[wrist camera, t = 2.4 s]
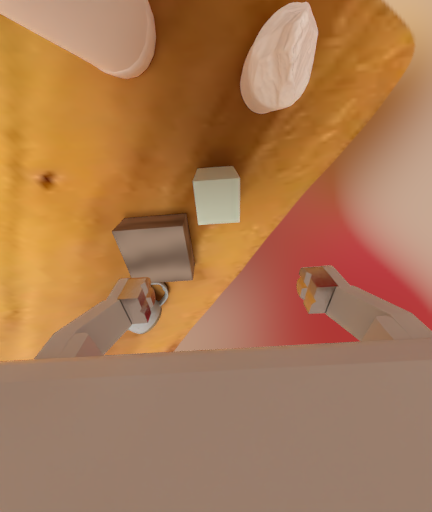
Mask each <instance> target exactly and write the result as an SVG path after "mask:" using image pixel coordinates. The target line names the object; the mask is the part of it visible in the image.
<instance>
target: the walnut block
mask: <svg viewBox="0 0 432 512" xmlns="http://www.w3.org/2000/svg"><path fill="white" fill-rule="evenodd" d="M112 233H113V235H114V238H115V240H116V242H117V245H118V247H119V249H120V252H121V254H122V256H123V259H124V261H125V263H126V266H127V268H128V270H129V273H130V275H131V277H132V278H140V277H149V278H150V280H151V282H152V283H158V282H173V281H187V280H193V274H194V266H195V262H194V256H193V250H192V244H191V238H190V232H189V226H188V221H187V215H186V213H185V214H172V215H159V216H146V217H133V218H124V219H123V220H122V221H121V222H120V224H119V225H118V226H117V227H116V228H115V229H114V230H113V231H112Z"/></svg>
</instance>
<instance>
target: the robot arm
mask: <svg viewBox="0 0 432 512" xmlns="http://www.w3.org/2000/svg"><path fill="white" fill-rule="evenodd" d="M299 274H300V276H301V277H300V278H299V279H298V280H297V291H298V294H299V296H300V297H301V298H302V299H304V306H305V307H306V309H307V311H308V313H309V314H310V313H326V314H327V315H328V316H329V317H330V318H332V319H333V320H334V321H336V322H337V323H338V324H339V325H341V326H342V327H343V328H344V329H346V330H347V331H348V332H350V333H351V334H352V335H353V336H355V337H356V338H357V339H358V340H360V341H361V342H343V343H325V344H307V345H289V346H271V347H255V348H254V347H253V348H234V349H215V350H197V351H180V352H160V353H142V354H124V355H105V356H104V354H105V353H106V352H107V351H108V350H109V349H110V348H111V346H112V345H113V344H114V343H115V342H116V341H117V340H118V339H119V338H120V337H121V336H122V335H123V334H124V333H125V332H126V331H127V330H128V329H129V328H130V326H131V325H132V324H140V323H148V321H149V318H150V315H151V310H150V309H151V308H152V307H153V306H154V303H155V291H154V289H153V288H152V287H151V283H152V282H151V280H150V278H149V277H140V278H121V279H119V280H118V282H117V283H116V285H115V287H114V288H113V290H112V291H111V293H110V294H109V296H108V298H107V299H106V301H102V302H100V303H99V304H97V305H96V306H94V307H93V308H91V309H90V310H88V311H87V312H85V313H84V314H82V315H81V316H79V317H78V318H76V319H75V320H73V321H72V322H70V323H69V324H67V325H66V326H64V327H63V328H61V329H60V330H58V331H57V332H55V333H54V334H53V335H52V337H51V338H50V339H49V340H48V342H47V343H46V344H45V346H44V347H43V348H42V349H41V351H40V352H39V353H38V355H37V356H36V357H35V358H34V359H32V360H14V361H0V512H432V331H431V330H430V329H429V328H427V327H426V326H425V325H424V324H423V323H422V322H421V321H420V320H419V319H417V318H416V317H415V316H414V315H413V314H412V313H410V312H408V311H406V310H404V309H402V308H399V307H397V306H395V305H393V304H391V303H389V302H387V301H384V300H383V299H381V298H378V297H376V296H374V295H372V294H370V293H368V292H366V291H364V290H362V289H359V288H357V287H355V286H350V285H349V284H348V283H347V281H346V280H345V279H344V278H343V277H342V276H341V275H340V274H339V273H338V272H337V270H336V269H334V267H333V266H331V265H329V266H320V267H305V268H301V269H300V272H299Z"/></svg>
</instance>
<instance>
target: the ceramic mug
mask: <svg viewBox="0 0 432 512" xmlns="http://www.w3.org/2000/svg"><path fill="white" fill-rule="evenodd" d="M153 284H158V285H161V286H162V288H163V290H164V291H165V295H164V297H163V298H162V299H161V300H160V301H159V302H158V301H157V300H156V299H155V303H154V306H153V307H152V308H151V309H150V310H151V315H150V318H149V321H148V323H140V324H132V325H131V326H130V328H129V329H128V330H130V331H132V332H134V333H138V334H144V333H146V332H148V331H150V330H151V329H152V328H153V327H154V326H155V325H156V323H157V322H158V320H159V318H160V316H161V311H162V308H161V305H162V304H164V302H165V301H166V300H167V298H168V289H167V286H166V285H165V284H164V283H163V282H158V283H151V285H153Z"/></svg>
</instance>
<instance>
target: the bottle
mask: <svg viewBox="0 0 432 512" xmlns="http://www.w3.org/2000/svg"><path fill="white" fill-rule="evenodd" d="M0 14H1V15H3V16H5V17H7V18H9V19H11V20H12V21H14V22H16V23H18V24H20V25H21V26H23V27H25V28H27V29H29V30H31V31H32V32H34V33H36V34H38V35H40V36H41V37H43V38H45V39H47V40H49V41H51V42H52V43H54V44H56V45H58V46H60V47H62V48H63V49H65V50H67V51H69V52H71V53H72V54H74V55H76V56H78V57H80V58H82V59H83V60H85V61H87V62H89V63H91V64H92V65H94V66H95V67H97V68H98V69H100V70H101V71H103V72H104V73H106V74H109V75H112V76H115V77H119V78H123V79H130V78H134V77H138V76H139V75H140V74H142V73H143V72H144V71H145V70H146V69H147V68H148V66H149V64H150V62H151V60H152V58H153V56H154V50H155V42H156V31H155V23H154V16H153V13H152V10H151V7H150V5H149V2H148V0H0Z"/></svg>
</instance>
